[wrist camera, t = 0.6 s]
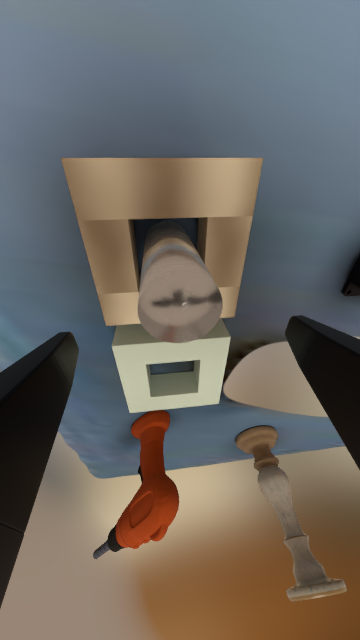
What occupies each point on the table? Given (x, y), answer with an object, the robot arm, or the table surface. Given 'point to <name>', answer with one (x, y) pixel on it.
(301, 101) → the table surface
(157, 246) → the silver flared cylinder
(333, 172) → the table surface
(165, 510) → the toy drill
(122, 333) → the square block with hole
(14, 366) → the robot arm
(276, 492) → the candle holder
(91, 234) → the socket block
